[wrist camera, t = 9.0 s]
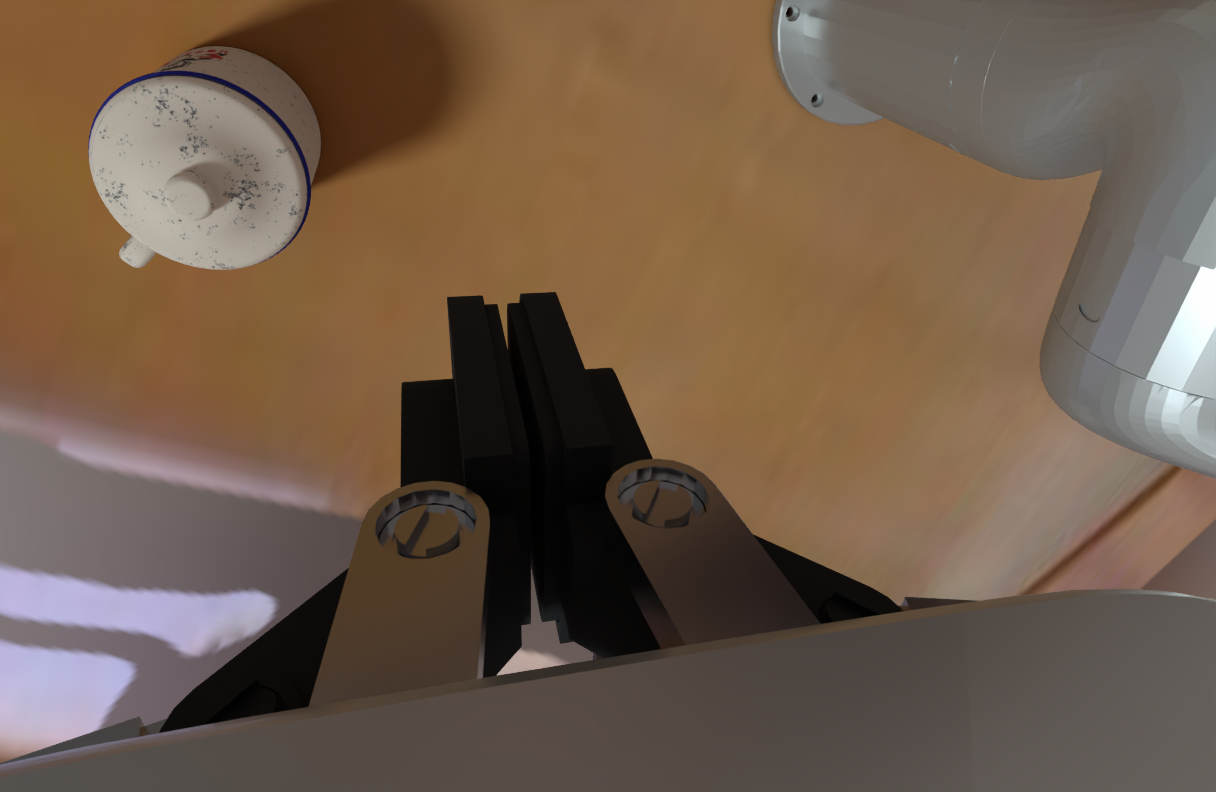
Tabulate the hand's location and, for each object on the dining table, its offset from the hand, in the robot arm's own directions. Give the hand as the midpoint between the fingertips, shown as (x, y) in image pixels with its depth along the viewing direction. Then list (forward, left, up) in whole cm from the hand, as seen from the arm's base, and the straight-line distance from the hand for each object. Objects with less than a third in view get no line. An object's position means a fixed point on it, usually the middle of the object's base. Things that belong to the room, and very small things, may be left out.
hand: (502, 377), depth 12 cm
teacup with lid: (+12, +6, -35) cm, 38 cm away
